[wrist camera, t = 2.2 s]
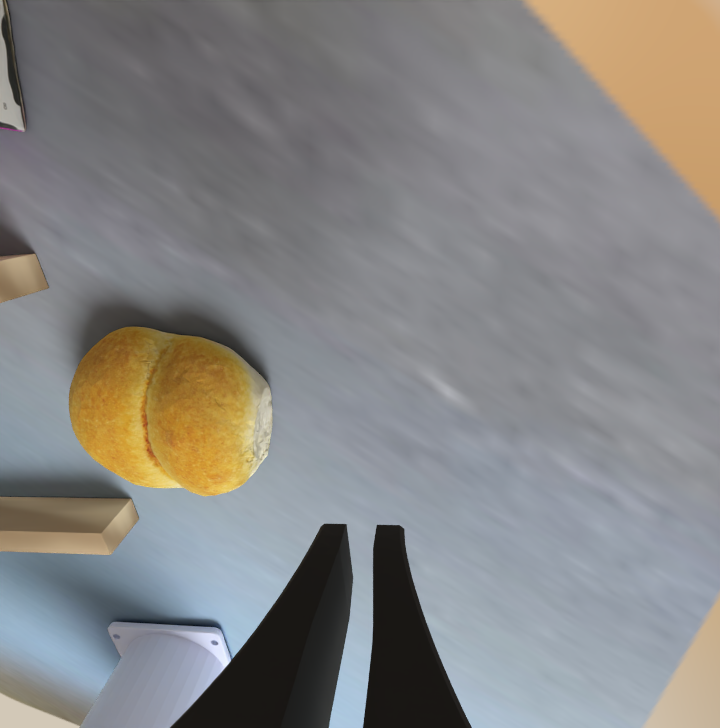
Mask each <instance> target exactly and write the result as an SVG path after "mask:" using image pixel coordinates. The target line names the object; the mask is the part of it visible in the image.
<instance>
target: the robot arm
mask: <svg viewBox="0 0 720 728" xmlns="http://www.w3.org/2000/svg"><path fill="white" fill-rule="evenodd" d="M352 584H353V573H352V565H351V557H350V549H349V541H348V533H347V525H346V524H324V525H322V526H321V528H320V530H319V532H318V533H317V535H316V537H315V539H314V541H313V543H312V545H311V546H310V548H309V550H308V552H307V553H306V555H305V557H304V558H303V560H302V562H301V564H300V565H299V567H298V569H297V570H296V572H295V573H294V575H293V576H292V578H291V579H290V581H289V583H288V584H287V586H286V587H285V589H284V590H283V592H282V593H281V595H280V596H279V598H278V599H277V601H276V602H275V604H274V605H273V606H272V608H271V609H270V611H269V612H268V613H267V615H266V616H265V618H264V619H263V620H262V622H261V623H260V625H259V626H258V627H257V629H256V630H255V631H254V633H253V634H252V635H251V636H250V638H249V639H248V640H247V642H246V643H245V644H244V645H243V647H242V648H241V649H240V650H239V652H238V653H237V654H236V655H235V657H234V658H233V659H232V660H231V658H230V655H229V652H228V649H227V646H226V643H225V640H224V637H223V634H222V632H221V630H220V629H218V628H215V627H200V626H183V625H165V624H148V623H130V622H112V623H111V624H110V625H109V627H108V632H109V634H110V636H111V638H112V640H113V642H114V644H115V646H116V648H117V650H118V652H119V654H120V656H121V659H120V661H119V662H118V664H117V666H116V667H115V669H114V671H113V672H112V674H111V676H110V677H109V679H108V681H107V682H106V684H105V686H104V687H103V689H102V691H101V692H100V694H99V696H98V697H97V699H96V701H95V702H94V704H93V706H92V708H91V709H90V711H89V713H88V714H87V716H86V718H85V719H84V721H83V723H82V724H81V726H80V728H329V722H330V716H331V711H332V706H333V701H334V695H335V690H336V685H337V680H338V675H339V670H340V664H341V659H342V654H343V649H344V644H345V638H346V633H347V628H348V622H349V616H350V606H351V595H352ZM363 728H472V727H471V725H470V723H469V721H468V719H467V717H466V715H465V713H464V711H463V709H462V707H461V705H460V702H459V700H458V698H457V696H456V694H455V692H454V689H453V687H452V685H451V683H450V680H449V678H448V676H447V674H446V671H445V669H444V667H443V664H442V662H441V659H440V657H439V655H438V652H437V650H436V647H435V644H434V642H433V639H432V637H431V634H430V631H429V629H428V626H427V623H426V620H425V617H424V615H423V612H422V609H421V606H420V602H419V599H418V596H417V593H416V589H415V586H414V583H413V579H412V575H411V572H410V567H409V563H408V559H407V553H406V547H405V536H404V528H402V527H401V526H400V525H377V528H376V534H375V540H374V547H373V642H372V653H371V662H370V672H369V681H368V690H367V699H366V707H365V716H364V724H363Z"/></svg>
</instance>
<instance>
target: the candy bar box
mask: <svg viewBox="0 0 720 728" xmlns="http://www.w3.org/2000/svg"><path fill="white" fill-rule="evenodd" d="M0 128H1V129H7V130H13V131H20V132H24V131H25V130H26V121H25V114H24V107H23V102H22V95H21V90H20V85H19V81H18V75H17V68H16V62H15V54H14V45H13V40H12V34H11V25H10V17H9V12H8V8H7V3H6V0H0Z"/></svg>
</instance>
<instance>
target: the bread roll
mask: <svg viewBox="0 0 720 728" xmlns="http://www.w3.org/2000/svg"><path fill="white" fill-rule="evenodd" d="M271 399H272V397H271V391H270V387H269V385H268V383H267V382H266V381H265V379H264V378H263V377H262V376H261V375H260V374H259V373H258V372H257V371H256V370H255V369H254V368H252V367H251V366H250V365H249V364H248V363H247V362H246V361H245V360H244V359H243V358H242V357H240V356H239V355H238V354H237V353H236V352H234V351H233V350H232V349H230V348H229V347H227V346H224V345H222V344H219V343H217V342H214V341H211V340H208V339H205V338H202V337H196V336H187V335H177V334H171V333H165V332H161V331H158V330H155V329H151V328H146V327H124V328H121V329H118V330H116V331H113V332H111V333H110V334H108V335H107V336H105V337H104V338H103V339H101V340H100V341H99V342H98V343H97V344H96V345H95V346H93V347H92V348H91V349H90V351H89V352H88V353H87V354H86V355H85V356H84V357H83V358H82V360H81V362H80V364H79V365H78V368H77V370H76V373H75V375H74V378H73V380H72V383H71V387H70V393H69V411H70V418H71V423H72V427H73V431H74V433H75V435H76V437H77V439H78V440H79V442H80V444H81V445H82V447H83V448H84V449H85V450H86V452H87V453H88V454H89V455H90V456H91V457H92V458H93V459H94V460H95V461H97V462H98V463H100V464H101V465H102V466H104V467H105V468H107V469H108V470H110V471H112V472H114V473H116V474H117V475H119V476H120V477H122V478H124V479H126V480H128V481H130V482H131V483H133V484H135V485H141V486H145V487H154V488H185V489H187V490H188V491H190V492H192V493H196V494H199V495H202V496H210V495H218V494H221V493H227V492H229V491H232V490H234V489H236V488H238V487H240V486H241V485H243V484H244V483H245V482H246V481H247V480H248V479H249V477H251V476H252V475H253V474H254V473H255V471H256V470H257V469H258V467H259V465H260V464H261V463H262V462H263V460H264V459H265V457H267V455H268V449H269V445H270V437H271V431H272V403H271Z"/></svg>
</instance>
